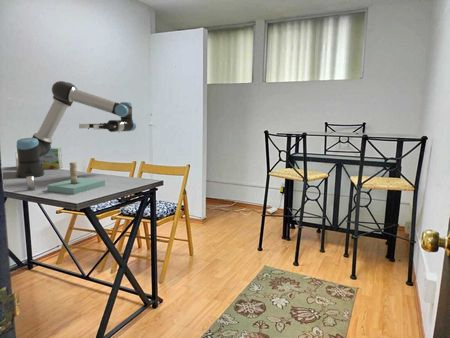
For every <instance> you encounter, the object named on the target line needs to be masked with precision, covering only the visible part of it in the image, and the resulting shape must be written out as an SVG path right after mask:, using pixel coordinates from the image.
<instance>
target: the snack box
mask: <svg viewBox="0 0 450 338" xmlns="http://www.w3.org/2000/svg"><path fill="white" fill-rule="evenodd" d="M62 157H63V156H62V148H61V147H51V150H50V151H49V153H47V154H46V155H44V156H40V164H41V166H42V168H45V169H44V170H46V169H47V170H61V169H62V168H63V158H62Z"/></svg>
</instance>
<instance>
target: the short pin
mask: <svg viewBox="0 0 450 338" xmlns="http://www.w3.org/2000/svg"><path fill="white" fill-rule="evenodd" d="M26 185H27V187H26V188H27V191H35V190H36V186H35V185H36V184H35V177H34V176H27V178H26Z"/></svg>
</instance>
